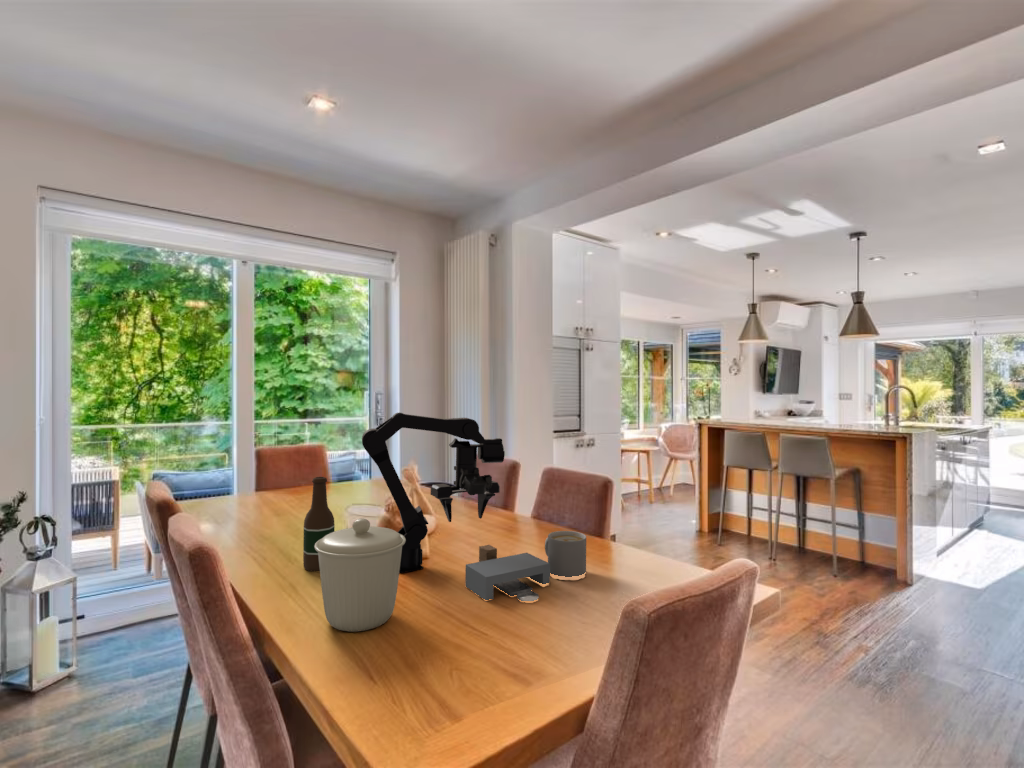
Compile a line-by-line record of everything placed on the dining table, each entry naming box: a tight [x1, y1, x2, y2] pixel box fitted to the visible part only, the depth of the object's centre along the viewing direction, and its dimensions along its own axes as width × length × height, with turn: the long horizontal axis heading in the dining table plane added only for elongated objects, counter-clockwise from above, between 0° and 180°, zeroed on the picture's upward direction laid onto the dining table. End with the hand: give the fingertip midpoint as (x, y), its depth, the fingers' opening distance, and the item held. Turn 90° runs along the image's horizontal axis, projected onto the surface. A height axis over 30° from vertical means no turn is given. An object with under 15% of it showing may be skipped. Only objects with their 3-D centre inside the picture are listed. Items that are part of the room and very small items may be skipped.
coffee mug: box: [544, 530, 587, 577], centre depth 138 cm, size 13×10×10 cm
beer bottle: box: [302, 476, 336, 572], centre depth 141 cm, size 8×8×24 cm
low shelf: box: [464, 552, 551, 600], centre depth 128 cm, size 18×10×6 cm, turn 122°
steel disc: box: [516, 590, 540, 601], centre depth 120 cm, size 5×5×1 cm
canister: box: [314, 517, 406, 633], centre depth 109 cm, size 18×18×21 cm
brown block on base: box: [478, 544, 533, 596], centre depth 130 cm, size 6×18×7 cm, turn 33°
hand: (465, 520), depth 145 cm, fingers open, 9 cm apart
